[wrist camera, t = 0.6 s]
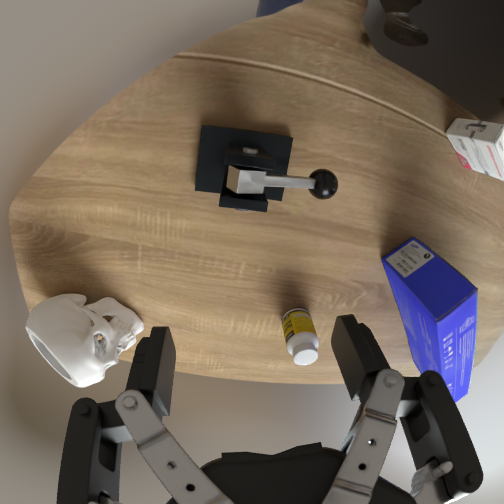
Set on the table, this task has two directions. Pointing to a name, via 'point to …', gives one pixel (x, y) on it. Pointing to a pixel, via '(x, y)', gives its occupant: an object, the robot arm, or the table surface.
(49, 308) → the skull planter
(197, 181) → the lever stand
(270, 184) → the tap lever
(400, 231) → the table surface
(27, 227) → the table surface
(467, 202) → the table surface
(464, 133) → the ink box
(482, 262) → the table surface
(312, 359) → the supplement bottle
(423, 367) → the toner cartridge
